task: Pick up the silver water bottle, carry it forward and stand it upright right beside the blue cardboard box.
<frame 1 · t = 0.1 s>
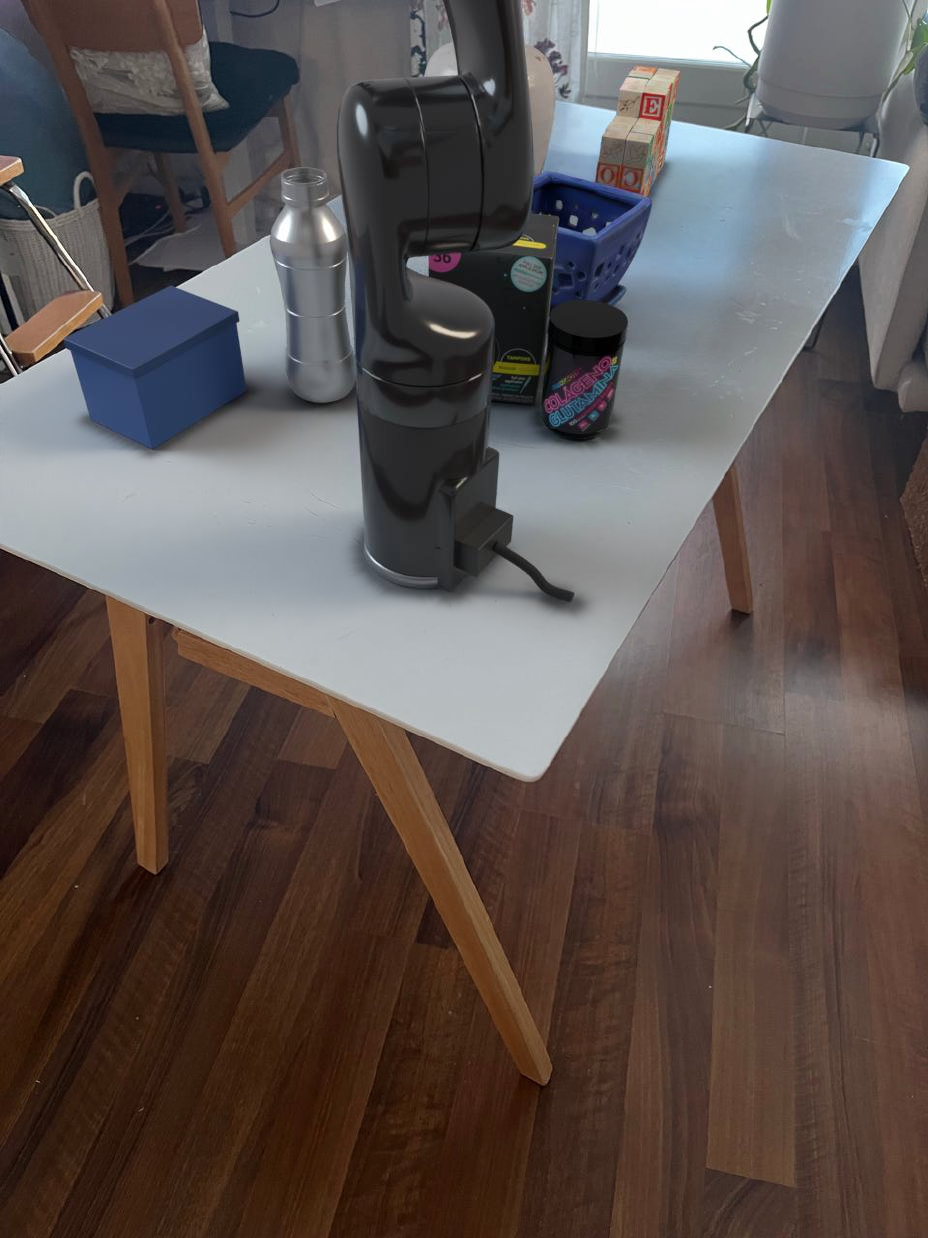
vase: (482, 220, 120), on the table
blue box: (170, 404, 87), on the table
flower pot: (557, 313, 103), on the table
stack of blocks: (628, 187, 129), on the table
tampon box: (486, 377, 93), on the table
supplement container: (574, 423, 87), on the table
silver water bottle: (323, 394, 89), on the table
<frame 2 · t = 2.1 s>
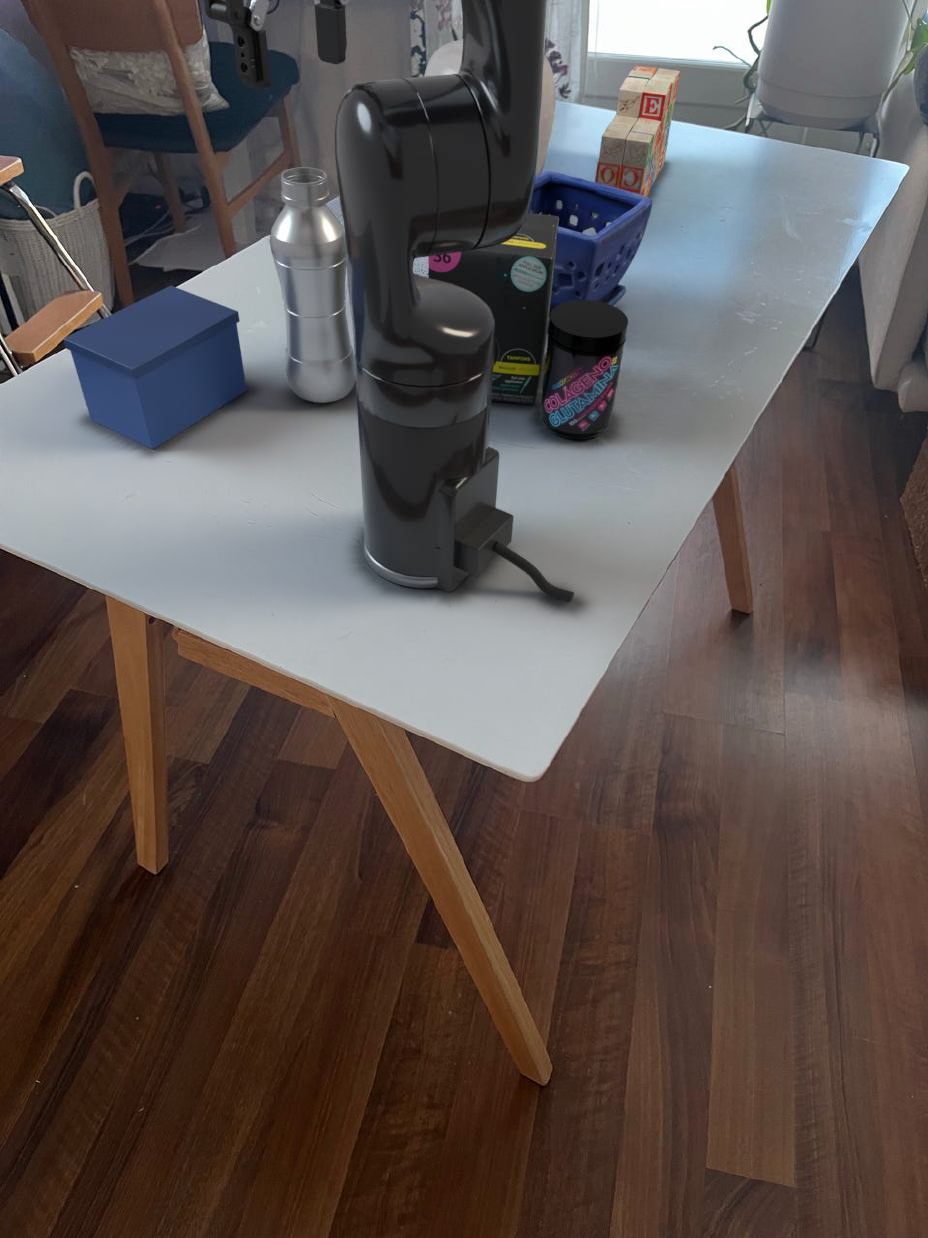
hand: (296, 73, 70), 27 cm above the table, tool pointing down, fingers open, 8 cm apart
nothing on the table moved.
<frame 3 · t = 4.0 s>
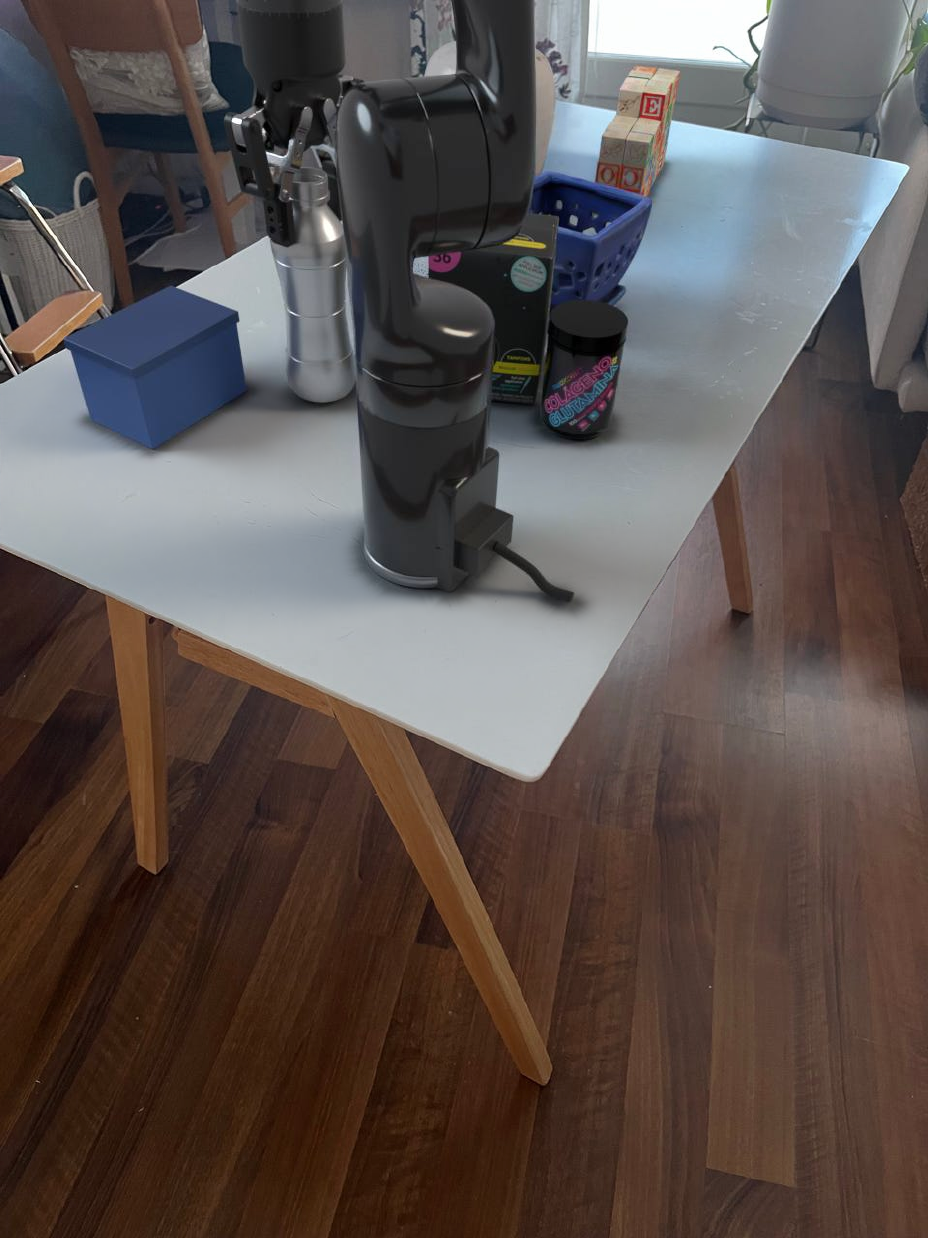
hand: (309, 230, 78), 16 cm above the table, tool pointing down, fingers closed on silver water bottle, 6 cm apart
silver water bottle: (322, 394, 89), on the table, touching gripper
everything else where it was.
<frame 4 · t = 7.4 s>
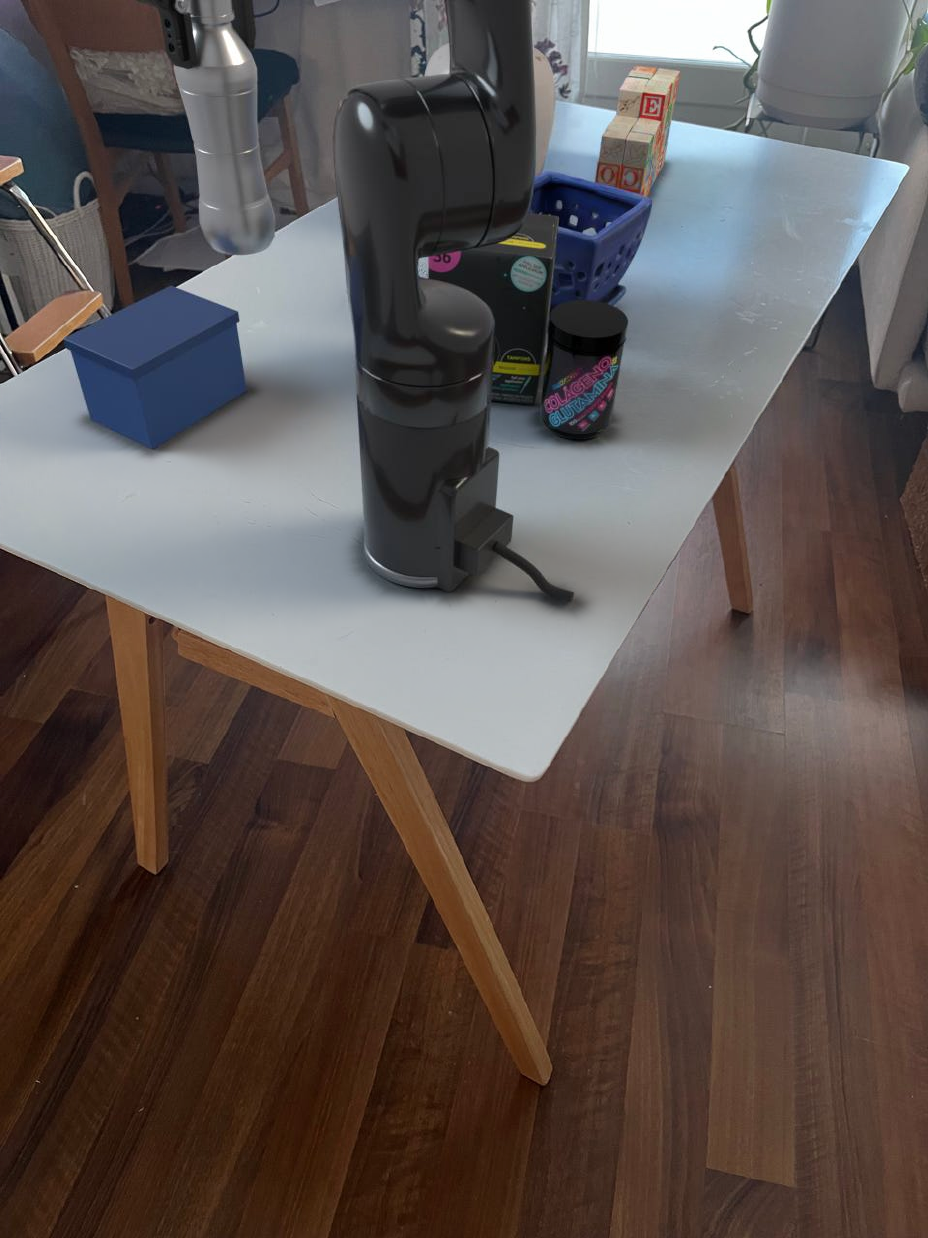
hand: (214, 56, 74), 27 cm above the table, tool pointing down, fingers closed on silver water bottle, 6 cm apart
silver water bottle: (241, 251, 85), point 11 cm above the table, touching gripper
everything else where it was.
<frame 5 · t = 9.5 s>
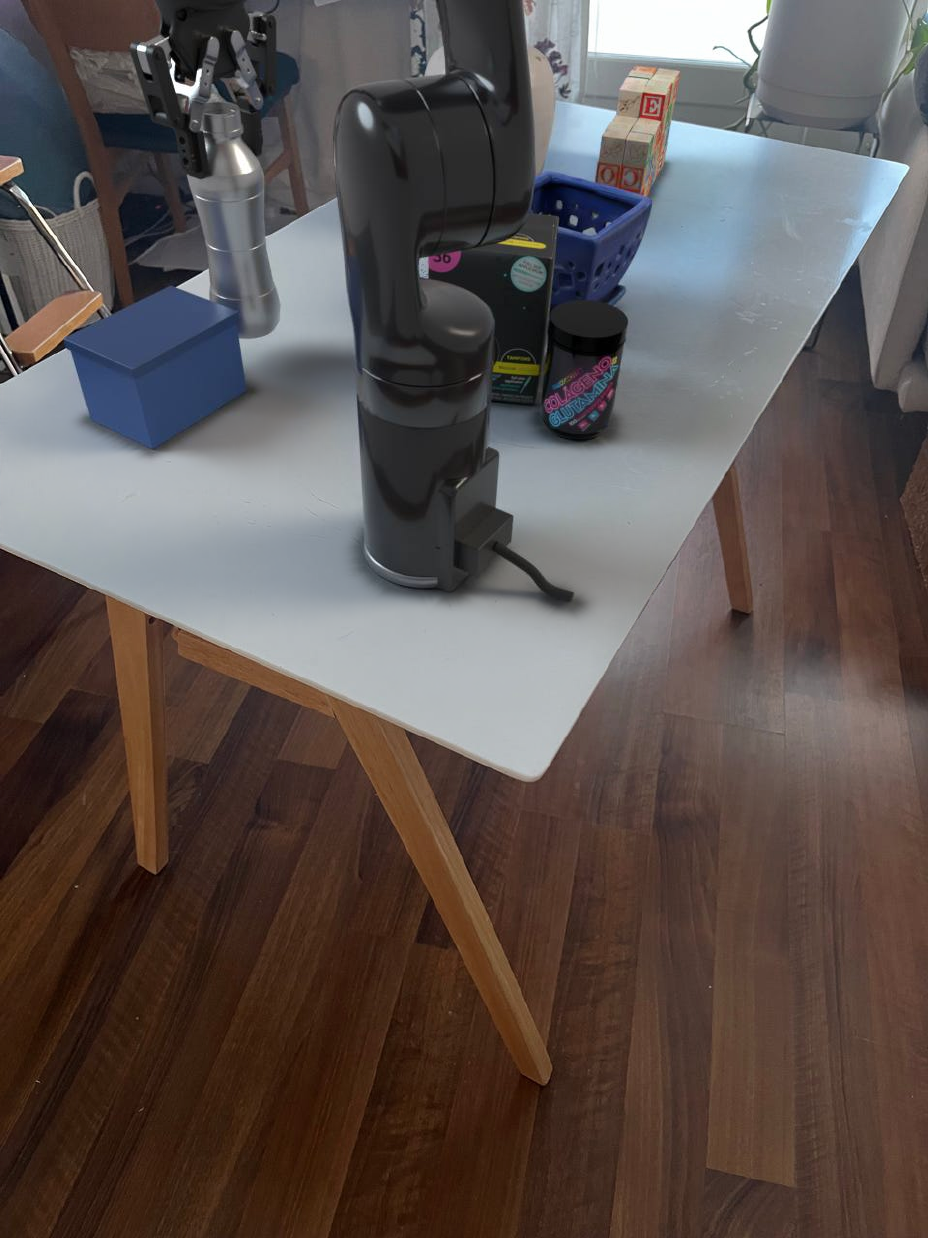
hand: (225, 164, 80), 18 cm above the table, tool pointing down, fingers closed on silver water bottle, 6 cm apart
silver water bottle: (248, 332, 92), point 3 cm above the table, touching gripper
everything else where it was.
when the fingers open (16 cm above the table, at t = 10.9 s): silver water bottle stays where it is, on the table.
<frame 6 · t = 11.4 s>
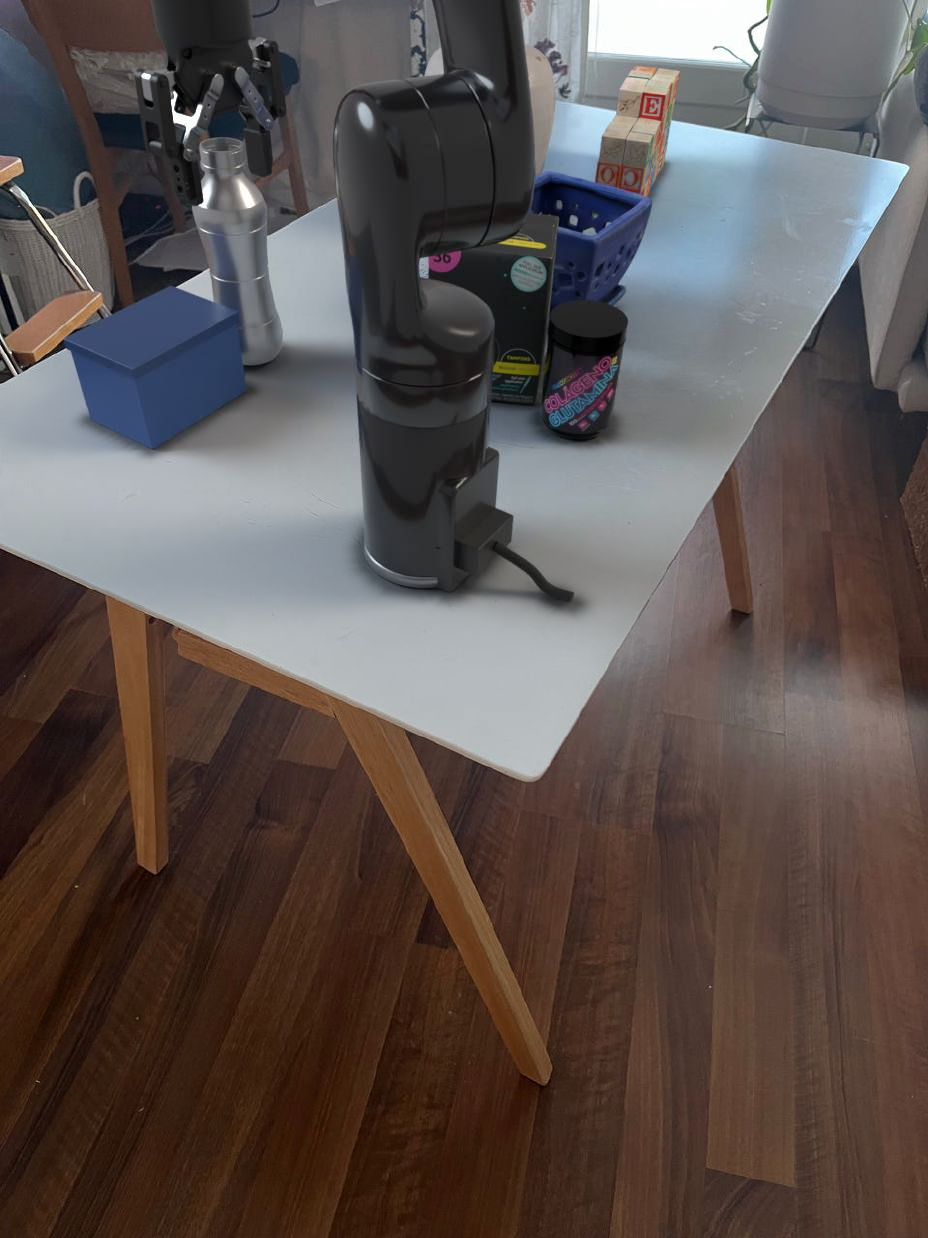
hand: (227, 188, 82), 16 cm above the table, tool pointing down, fingers open, 8 cm apart
silver water bottle: (252, 358, 94), on the table
everything else where it was.
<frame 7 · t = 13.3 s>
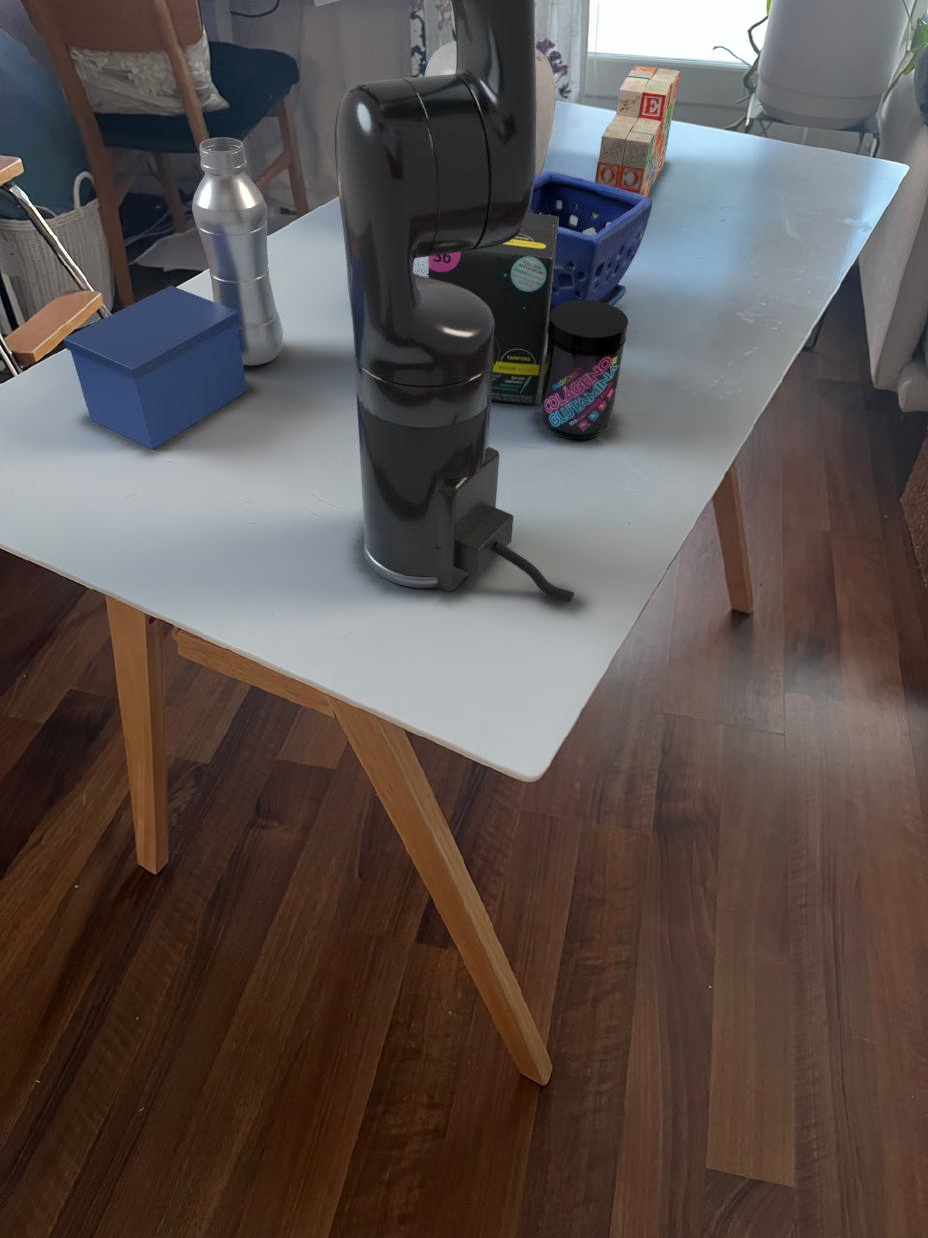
nothing on the table moved.
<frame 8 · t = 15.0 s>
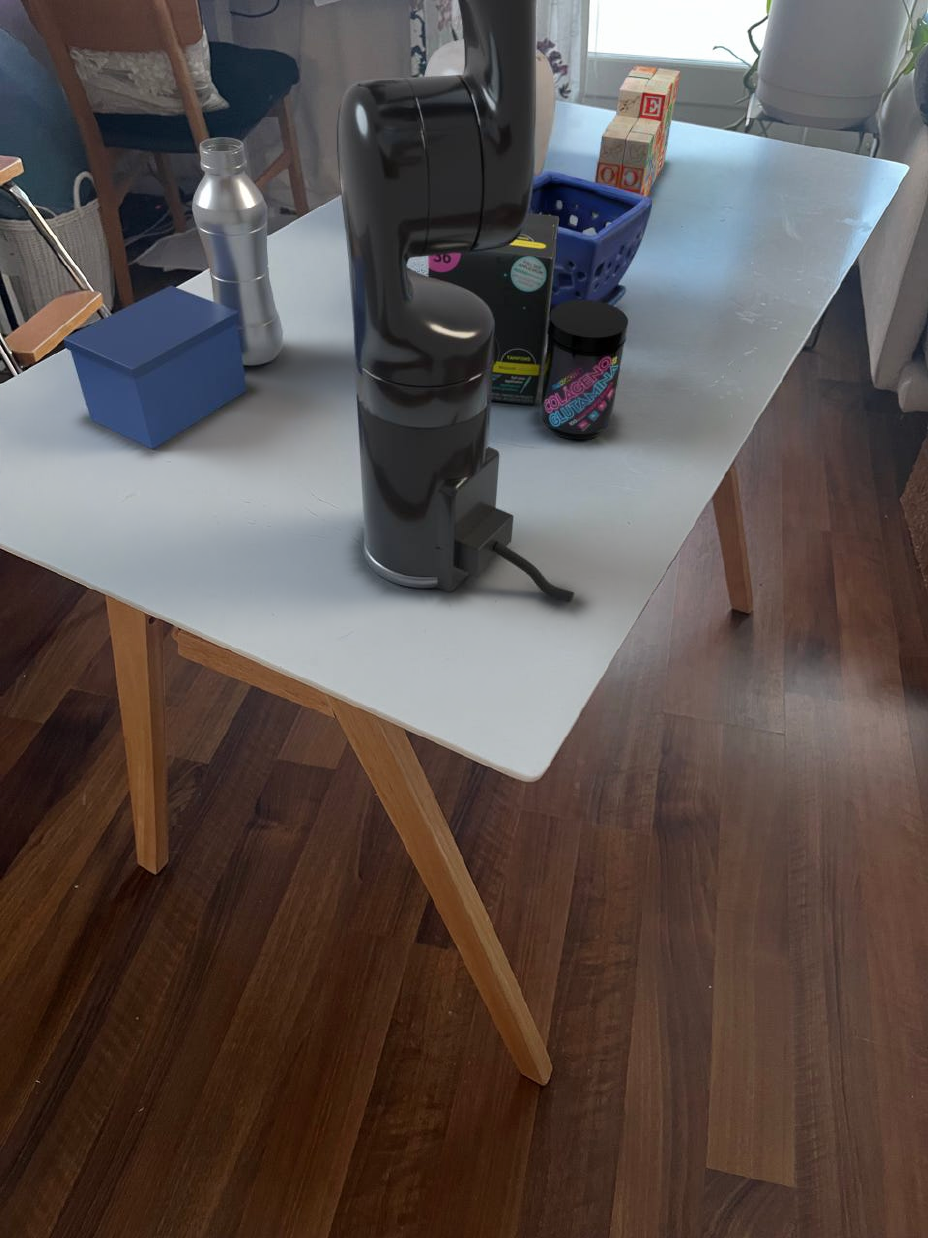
nothing on the table moved.
at the end: silver water bottle inside the target area (0.6 cm from its centre), on the table; silver water bottle tilted 0°; the gripper is holding nothing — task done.
